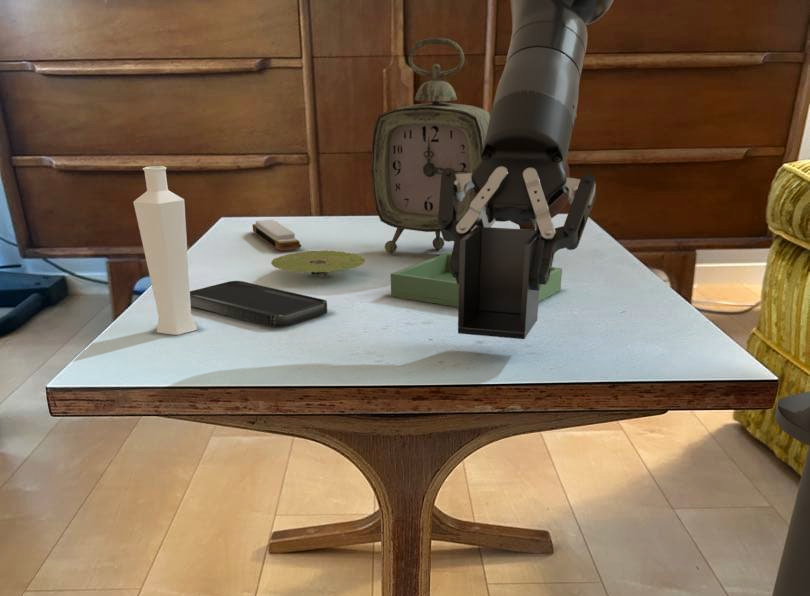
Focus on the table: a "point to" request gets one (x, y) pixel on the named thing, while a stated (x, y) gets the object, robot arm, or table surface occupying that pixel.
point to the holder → (497, 282)
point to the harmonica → (276, 235)
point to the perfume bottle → (165, 251)
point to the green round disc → (318, 262)
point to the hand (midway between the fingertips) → (496, 282)
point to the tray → (446, 282)
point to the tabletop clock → (424, 152)
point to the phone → (258, 303)
